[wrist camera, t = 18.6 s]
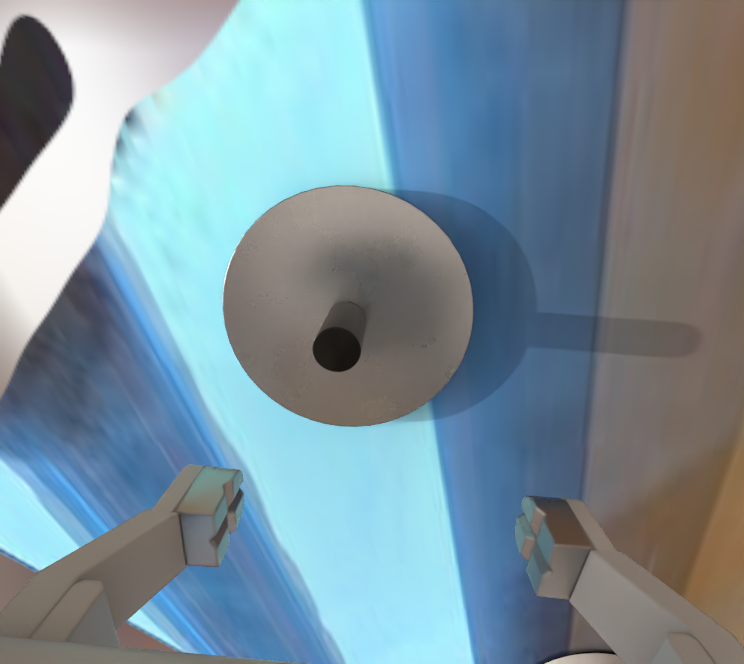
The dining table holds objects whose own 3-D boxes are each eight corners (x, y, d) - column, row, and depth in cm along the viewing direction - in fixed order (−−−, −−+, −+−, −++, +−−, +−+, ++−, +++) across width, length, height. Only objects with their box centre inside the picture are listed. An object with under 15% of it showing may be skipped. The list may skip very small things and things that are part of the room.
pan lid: (449, 427, 27) (465, 488, 21) (236, 407, 27) (195, 462, 22) (491, 198, 21) (530, 196, 16) (222, 174, 22) (161, 164, 16)
